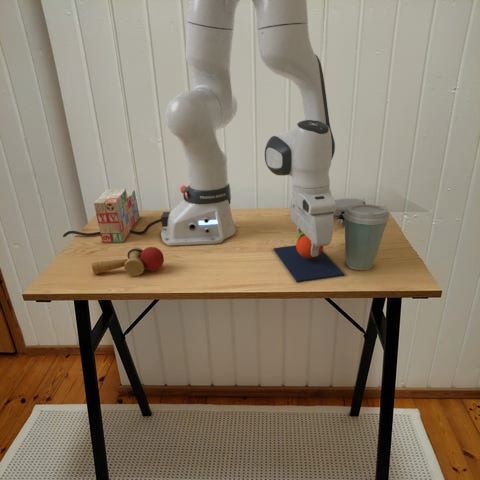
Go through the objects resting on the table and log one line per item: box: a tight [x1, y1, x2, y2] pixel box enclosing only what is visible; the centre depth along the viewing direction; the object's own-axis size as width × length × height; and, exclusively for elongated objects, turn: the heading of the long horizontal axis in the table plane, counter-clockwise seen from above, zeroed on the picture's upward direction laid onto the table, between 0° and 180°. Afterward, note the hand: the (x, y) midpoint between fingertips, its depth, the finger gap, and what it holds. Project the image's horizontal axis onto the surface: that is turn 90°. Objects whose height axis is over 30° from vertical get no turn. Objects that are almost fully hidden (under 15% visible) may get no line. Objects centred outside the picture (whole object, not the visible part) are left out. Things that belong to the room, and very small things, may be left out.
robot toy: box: [332, 197, 367, 224], centre depth 141 cm, size 12×4×15 cm
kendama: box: [91, 246, 165, 277], centre depth 115 cm, size 8×6×18 cm
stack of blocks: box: [93, 188, 140, 244], centre depth 139 cm, size 21×6×12 cm, turn 177°
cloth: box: [273, 244, 345, 283], centre depth 117 cm, size 12×20×1 cm, turn 13°
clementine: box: [292, 233, 324, 259], centre depth 115 cm, size 8×7×7 cm
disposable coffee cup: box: [343, 203, 390, 271], centre depth 110 cm, size 11×11×15 cm
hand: (308, 249), depth 116 cm, fingers closed on clementine, 7 cm apart
